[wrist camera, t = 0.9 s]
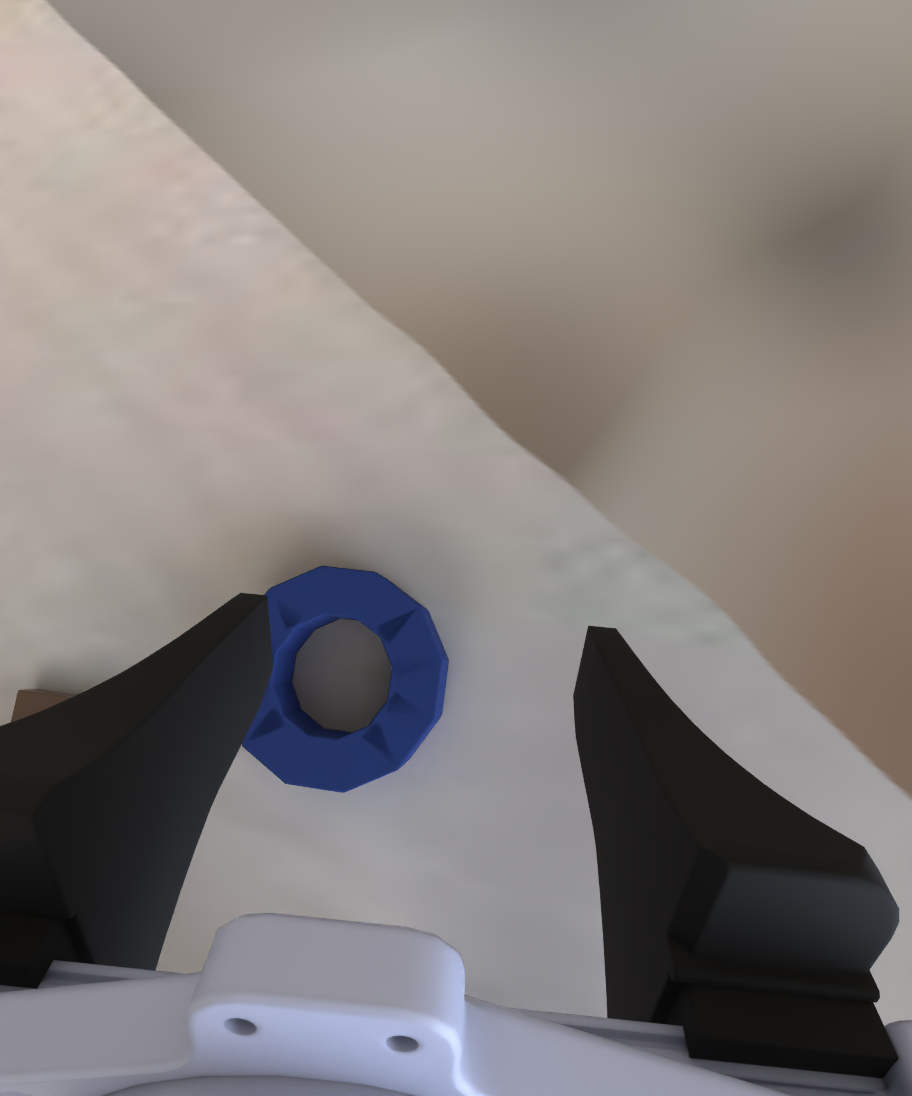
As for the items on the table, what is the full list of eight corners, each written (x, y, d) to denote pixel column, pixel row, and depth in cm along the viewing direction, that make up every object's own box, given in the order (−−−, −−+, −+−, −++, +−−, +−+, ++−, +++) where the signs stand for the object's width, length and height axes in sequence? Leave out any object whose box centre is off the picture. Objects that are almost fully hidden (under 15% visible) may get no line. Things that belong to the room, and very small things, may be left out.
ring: (432, 793, 27) (424, 805, 25) (234, 762, 28) (208, 772, 26) (458, 587, 29) (452, 580, 26) (268, 565, 30) (247, 556, 27)
